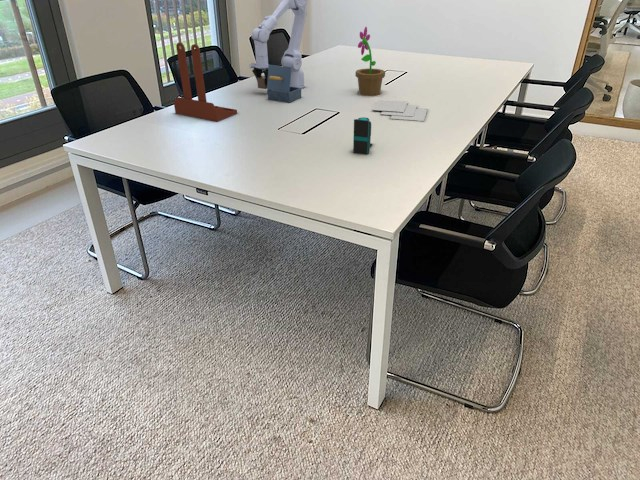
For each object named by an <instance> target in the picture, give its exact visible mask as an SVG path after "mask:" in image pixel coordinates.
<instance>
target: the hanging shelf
mask: <svg viewBox="0 0 640 480" xmlns="http://www.w3.org/2000/svg"><path fill="white" fill-rule="evenodd" d="M175 48H176V54H177V60H178V67H179V73H180V82H181V86H182V93H183V97H180V96H176V97H175V100H174V101H173V107H174V112H175V114H176V115H181V116H186V117H192V118H196V119H200V120H201V119H202V120H207V121H211V122H217V123H218V122H221V121H223V120H226V119H227V118H230V117H232V116H234V115H237V114H238V109H235V108H229V107H224V106H220V105H219V106H218V105H215V104H214V103H213V102H208V100H207V94H206V86H205V79H204V70H203V64H202V56H201V49H200V46H199V45H198V44H196V43H194V44H191V46H190V51H191V58H192V59H191V60H192V65H193V72H194V81H195V87H196V94H197V100H196V99H193V93H192V88H191V87H192V86H191V80H190V74H189V67H188V59H187V54H186V48H185V45H184V44H183V42H177V43H176V45H175Z"/></svg>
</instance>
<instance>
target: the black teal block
mask: <svg viewBox="0 0 640 480" xmlns="http://www.w3.org/2000/svg"><path fill="white" fill-rule="evenodd" d="M371 136H372V122H371V121H370V118H369V117H363V116H362V117H358V118H354V119H353V142H352V153H354V154H360V155H369V153H370V150H371V147H372V146H373V143H371Z"/></svg>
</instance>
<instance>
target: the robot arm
mask: <svg viewBox="0 0 640 480" xmlns="http://www.w3.org/2000/svg"><path fill="white" fill-rule="evenodd" d="M307 5H308V0H281V2H280V3H279V4H278V6H277V7H276V8H275V9H274V11H273V12H272V14H270V15H266V16H264V20H263V21H262V22H261V23H260V24H258V26H257V27H255V28H254V29H253V30H252V33H251V39H252V40H253V43H254V53H255V63H254V62H252V63H251V62H250V63H249V64H248V66H249V69H252V70H251V72H252V73H253V75H254V77H255V79H256V80H257V77H260V76H265V81H266V85H267V81H268V66H269V65H270V64H269V55H268V41H269V38H270V34H271V33H272V32H273V30H274V29H275V28H276V27H277V26H278V21H279V20H280V18H281V17H282V16H283V15H284V14H285V13H286V12H287V11H288V10H291V11H292V13H293V14H294V18H293V22H292V28H291V31H290V32H291V33H290V38H289V44H288V47H287V49H286V50H285V51H284V53H283V55H282V57H281V60H280V61H281V62H280V63H281V66H285V67H291V79H290V87H297V88H301V89H303V88H306V86H305V72H304V70H303V69H302V65H303V62H302V58H303V55H302V54H301V52H300V50H301V49H300V48H301V43H302V39H303V34H304V30H305V24H306V20H307V14H308V11H307ZM262 74H263V75H262Z"/></svg>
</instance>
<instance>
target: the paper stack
mask: <svg viewBox="0 0 640 480" xmlns="http://www.w3.org/2000/svg"><path fill="white" fill-rule="evenodd" d="M408 103H409V101H406V100H390V99H389V100H388V99H377V101H376V102H375V104H374V105H373V107H372V109H371V111H381V113H380V115H383V116H390V118H389V119H390V120H391V119H392V120H403V121H419V122H425V119H426V115H427V112H428V108H427V109H426V108H417V107H418V105H417V104H415V105H414V104H408Z"/></svg>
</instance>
